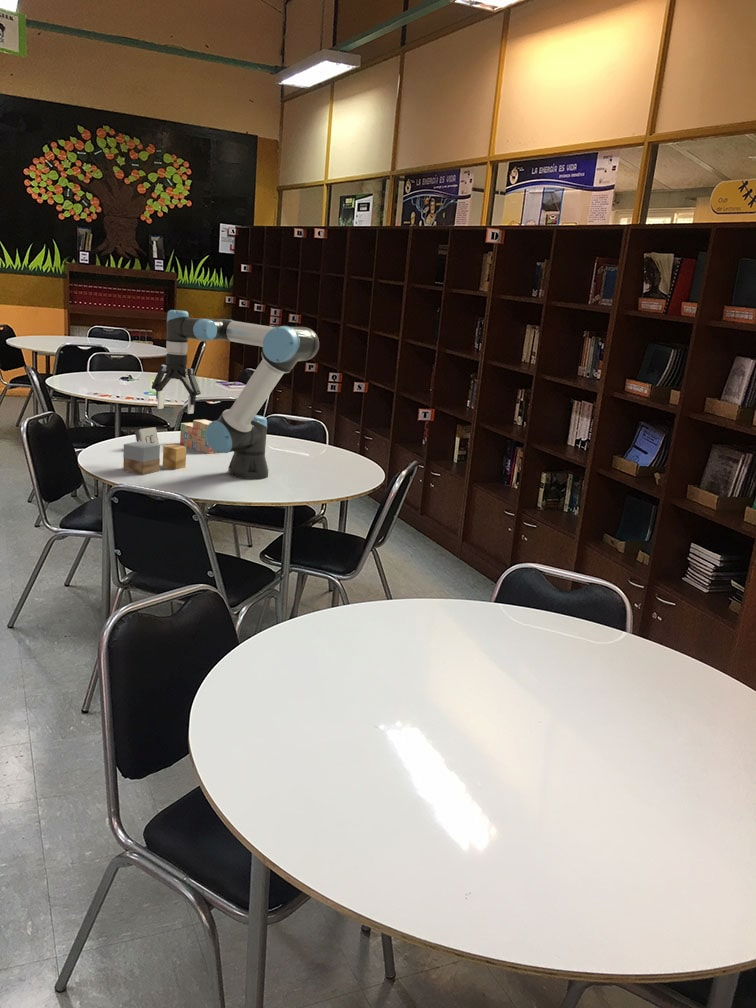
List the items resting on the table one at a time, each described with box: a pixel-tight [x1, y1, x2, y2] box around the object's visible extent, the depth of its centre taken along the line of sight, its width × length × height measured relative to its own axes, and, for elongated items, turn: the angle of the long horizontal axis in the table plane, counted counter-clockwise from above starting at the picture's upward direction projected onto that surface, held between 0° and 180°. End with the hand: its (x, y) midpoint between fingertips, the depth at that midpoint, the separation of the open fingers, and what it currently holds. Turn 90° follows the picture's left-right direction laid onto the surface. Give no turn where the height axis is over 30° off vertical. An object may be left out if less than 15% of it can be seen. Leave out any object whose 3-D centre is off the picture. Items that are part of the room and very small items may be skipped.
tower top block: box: [122, 440, 161, 462], centre depth 301 cm, size 9×9×5 cm
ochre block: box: [162, 443, 187, 471], centre depth 313 cm, size 6×6×8 cm
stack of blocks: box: [179, 419, 218, 455], centre depth 350 cm, size 21×6×12 cm, turn 46°
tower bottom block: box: [122, 458, 161, 476], centre depth 302 cm, size 9×9×5 cm
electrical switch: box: [134, 426, 160, 445], centre depth 337 cm, size 9×5×9 cm, turn 152°
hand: (175, 411), depth 308 cm, fingers open, 13 cm apart
